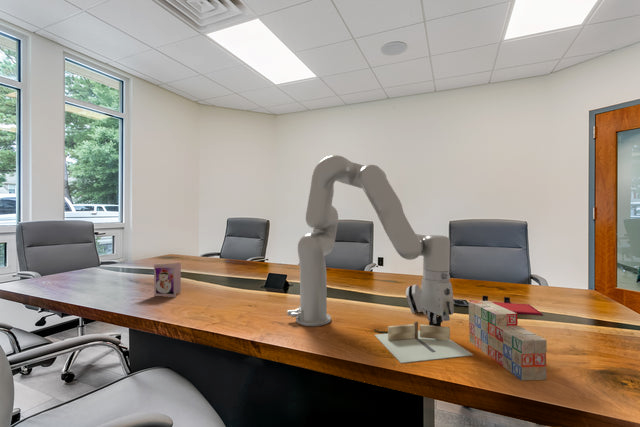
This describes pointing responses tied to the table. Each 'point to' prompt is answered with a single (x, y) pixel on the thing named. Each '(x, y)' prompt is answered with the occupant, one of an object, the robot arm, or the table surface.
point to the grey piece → (414, 298)
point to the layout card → (422, 348)
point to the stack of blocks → (507, 340)
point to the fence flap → (435, 332)
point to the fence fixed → (403, 332)
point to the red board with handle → (506, 306)
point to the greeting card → (167, 279)
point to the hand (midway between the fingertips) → (434, 334)
